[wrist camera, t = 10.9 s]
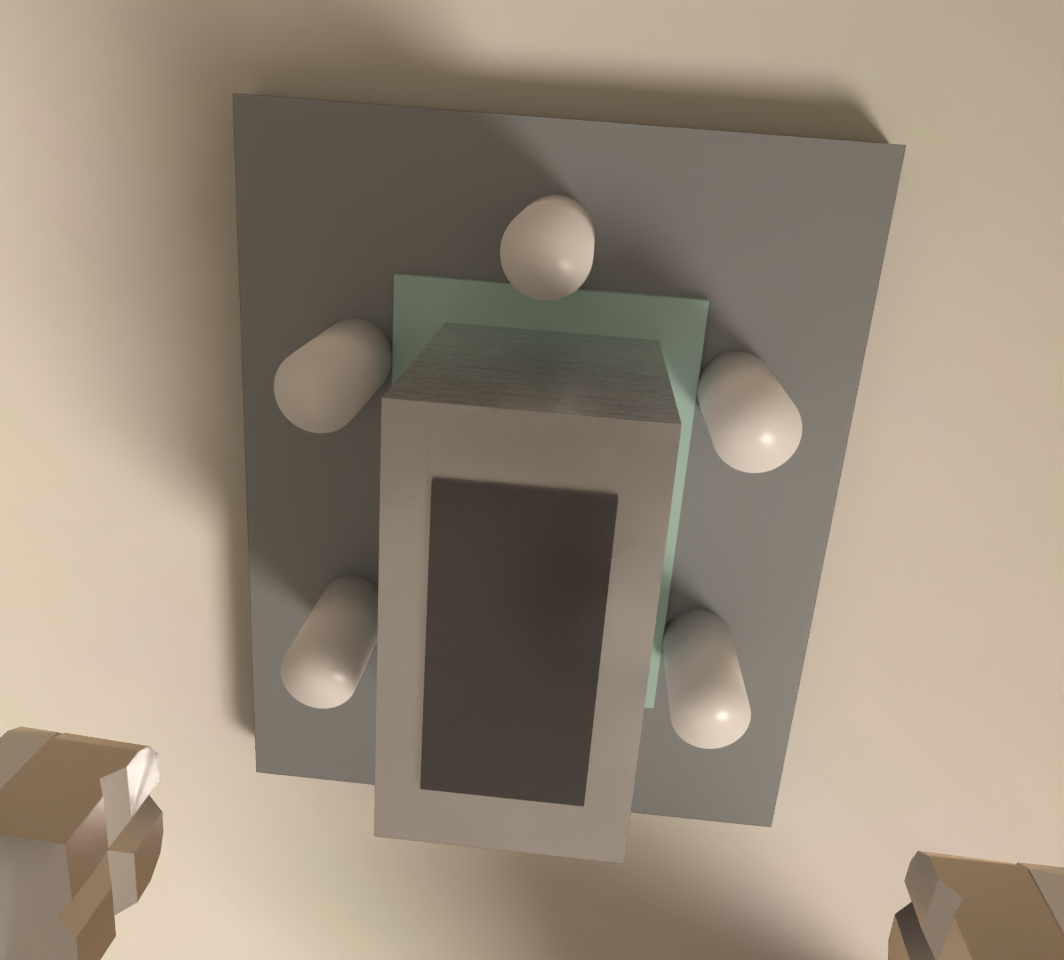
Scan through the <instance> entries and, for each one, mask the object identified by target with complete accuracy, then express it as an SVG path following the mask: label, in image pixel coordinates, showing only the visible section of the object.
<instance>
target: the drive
mask: <svg viewBox="0 0 1064 960" xmlns="http://www.w3.org/2000/svg"><path fill="white" fill-rule="evenodd" d="M681 427H682V423H681V420H680V416H679V412H678V409H677V405H676V401H675V397H674V394H673V390H672V386H671V383H670V379H669V375H668V371H667V368H666V364H665V360H664V357H663V353H662V349H661V346H660V342H659V340H648V339H637V338H625V337H613V336H602V335H590V334H578V333H567V332H555V331H543V330H531V329H520V328H508V327H496V326H485V325H473V324H461V323H450V322H445V324H444V325H443V326H442V327H441V328H440V330H439V331H438V332H437V333H436V334H435V335H434V337H433V338H432V339H431V340H430V341H429V342H428V344H427V345H426V346H425V347H424V348H423V350H422V351H421V352H420V353H419V354H418V355H417V357H416V358H415V359H414V360H413V361H412V363H411V364H410V365H409V366H408V367H407V368H406V370H405V371H404V372H403V373H402V374H401V376H400V377H399V378H398V379H397V380H396V381H395V383H394V384H393V385H392V386H391V387H390V389H389V390H388V391H387V392H386V393H385V394H384V396H383V397H382V407H381V465H380V524H379V582H378V641H377V700H376V758H375V817H374V836H376V837H385V838H394V839H403V840H412V841H422V842H431V843H440V844H449V845H458V846H467V847H477V848H486V849H495V850H504V851H513V852H523V853H532V854H541V855H550V856H559V857H568V858H578V859H587V860H596V861H605V862H614V863H623V864H624V858H625V850H626V843H627V835H628V828H629V820H630V812H631V805H632V797H633V790H634V782H635V775H636V767H637V760H638V752H639V744H640V737H641V729H642V722H643V714H644V707H645V699H646V691H647V684H648V676H649V669H650V661H651V654H652V646H653V639H654V631H655V623H656V616H657V608H658V601H659V593H660V586H661V578H662V571H663V563H664V555H665V548H666V540H667V533H668V525H669V518H670V510H671V503H672V495H673V487H674V480H675V472H676V465H677V457H678V450H679V442H680V434H681Z"/></svg>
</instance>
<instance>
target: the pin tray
mask: <svg viewBox="0 0 1064 960" xmlns="http://www.w3.org/2000/svg"><path fill="white" fill-rule="evenodd" d="M233 115H234V143H235V172H236V201H237V230H238V259H239V288H240V317H241V345H242V374H243V403H244V432H245V461H246V490H247V518H248V547H249V576H250V605H251V634H252V663H253V692H254V720H255V749H256V772H260V773H269V774H279V775H288V776H297V777H307V778H316V779H325V780H335V781H344V782H353V783H363V784H372V785H375V758H376V700H377V641H378V582H379V524H380V465H381V407H382V397H383V396H384V394H385V393H386V392H387V391H388V390H389V389H390V387H391V386H392V385H393V384H394V383H395V381H396V380H397V379H398V378H399V377H400V376H401V374H402V373H403V372H404V371H405V370H406V368H407V367H408V366H409V365H410V364H411V363H412V361H413V360H414V359H415V358H416V357H417V355H418V354H419V353H420V352H421V351H422V350H423V348H424V347H425V346H426V345H427V344H428V342H429V341H430V340H431V339H432V338H433V337H434V335H435V334H436V333H437V332H438V331H439V330H440V328H441V327H442V326H443V325H444V324H445V322H450V323H461V324H473V325H485V326H496V327H508V328H520V329H531V330H543V331H555V332H567V333H578V334H590V335H602V336H613V337H625V338H637V339H648V340H659V342H660V346H661V349H662V353H663V357H664V360H665V364H666V368H667V371H668V375H669V379H670V383H671V386H672V390H673V394H674V397H675V401H676V405H677V409H678V412H679V416H680V420H681V423H682V427H681V434H680V442H679V450H678V457H677V465H676V472H675V480H674V487H673V495H672V503H671V510H670V518H669V525H668V533H667V540H666V548H665V555H664V563H663V571H662V578H661V586H660V593H659V601H658V608H657V616H656V623H655V631H654V639H653V646H652V654H651V661H650V669H649V676H648V684H647V691H646V699H645V707H644V714H643V722H642V729H641V737H640V744H639V752H638V760H637V767H636V775H635V782H634V790H633V797H632V805H631V812H633V813H642V814H652V815H661V816H670V817H680V818H689V819H698V820H708V821H717V822H726V823H736V824H745V825H754V826H764V827H771V825H772V820H773V815H774V810H775V805H776V800H777V795H778V790H779V785H780V780H781V775H782V770H783V764H784V759H785V754H786V749H787V744H788V739H789V734H790V729H791V724H792V719H793V714H794V709H795V704H796V699H797V694H798V689H799V684H800V679H801V674H802V668H803V663H804V658H805V653H806V648H807V643H808V638H809V633H810V628H811V623H812V618H813V613H814V608H815V603H816V598H817V593H818V588H819V583H820V577H821V572H822V567H823V562H824V557H825V552H826V547H827V542H828V537H829V532H830V527H831V522H832V517H833V512H834V507H835V502H836V497H837V492H838V487H839V481H840V476H841V471H842V466H843V461H844V456H845V451H846V446H847V441H848V436H849V431H850V426H851V421H852V416H853V411H854V406H855V401H856V396H857V391H858V385H859V380H860V375H861V370H862V365H863V360H864V355H865V350H866V345H867V340H868V335H869V330H870V325H871V320H872V315H873V310H874V305H875V300H876V295H877V289H878V284H879V279H880V274H881V269H882V264H883V259H884V254H885V249H886V244H887V239H888V234H889V229H890V224H891V219H892V214H893V209H894V204H895V199H896V193H897V188H898V183H899V178H900V173H901V168H902V163H903V158H904V153H905V148H906V145H898V144H885V143H872V142H859V141H846V140H833V139H820V138H807V137H794V136H781V135H768V134H755V133H742V132H729V131H716V130H703V129H690V128H677V127H664V126H651V125H638V124H625V123H612V122H598V121H585V120H572V119H559V118H546V117H533V116H520V115H507V114H494V113H481V112H468V111H455V110H442V109H429V108H416V107H403V106H390V105H377V104H364V103H351V102H338V101H325V100H312V99H299V98H286V97H273V96H260V95H246V94H233Z"/></svg>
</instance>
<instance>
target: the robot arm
mask: <svg viewBox="0 0 1064 960" xmlns="http://www.w3.org/2000/svg"><path fill="white" fill-rule="evenodd" d="M159 779H160V772H159V763H158V753H157V752H155V751H154V750H153V749H152V748H151V747H150V746H144V745H138V744H132V743H125V742H119V741H113V740H107V739H100V738H94V737H88V736H82V735H75V734H69V733H63V734H62V733H58V732H52V731H46V730H39V729H33V728H26V727H19V728H16V729H12V730H9V731H7V732H6V733H5V734H4V735H3V736H1V737H0V960H101V958H102V957H103V955H104V954H105V952H106V950H107V949H108V947H109V946H110V944H111V943H112V941H113V940H114V938H115V937H116V930H115V918H114V915H116V914H118V913H120V912H121V911H123V910H125V909H126V908H128V907H130V906H131V905H133V904H135V903H137V902H138V900H139V899H140V897H141V895H142V894H143V892H144V890H145V889H146V887H147V886H148V884H149V882H150V881H151V878H152V875H153V872H154V870H155V867H156V864H157V861H158V858H159V855H160V852H161V845H162V837H163V815H162V811H161V810H160V808H159V807H158V806H157V805H156V803H155V802H154V801H153V799H152V798H151V797H150V796H149V794H150V792H151V791H152V789H153V788H154V786H155V785H156V784H157V782H158V781H159ZM905 884H906V887H907V889H908V892H909V895H910V898H911V901H912V902H911V903H910V904H908V905H907V906H905V907H904V908H903V909H901V910H900V911H899V912H897V913H896V914H895V916H894V920H893V924H892V928H891V932H890V936H889V940H888V960H1064V868H1062V867H1053V866H1044V865H1035V864H1026V863H1017V864H1013V863H1007V862H999V861H992V860H984V859H976V858H969V857H961V856H953V855H945V854H938V853H930V852H922V851H918V852H917V853H916V854H915V856H914V857H913V859H912V860H911V861H910V864H909V868H908V871H907V874H906V878H905Z"/></svg>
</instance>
